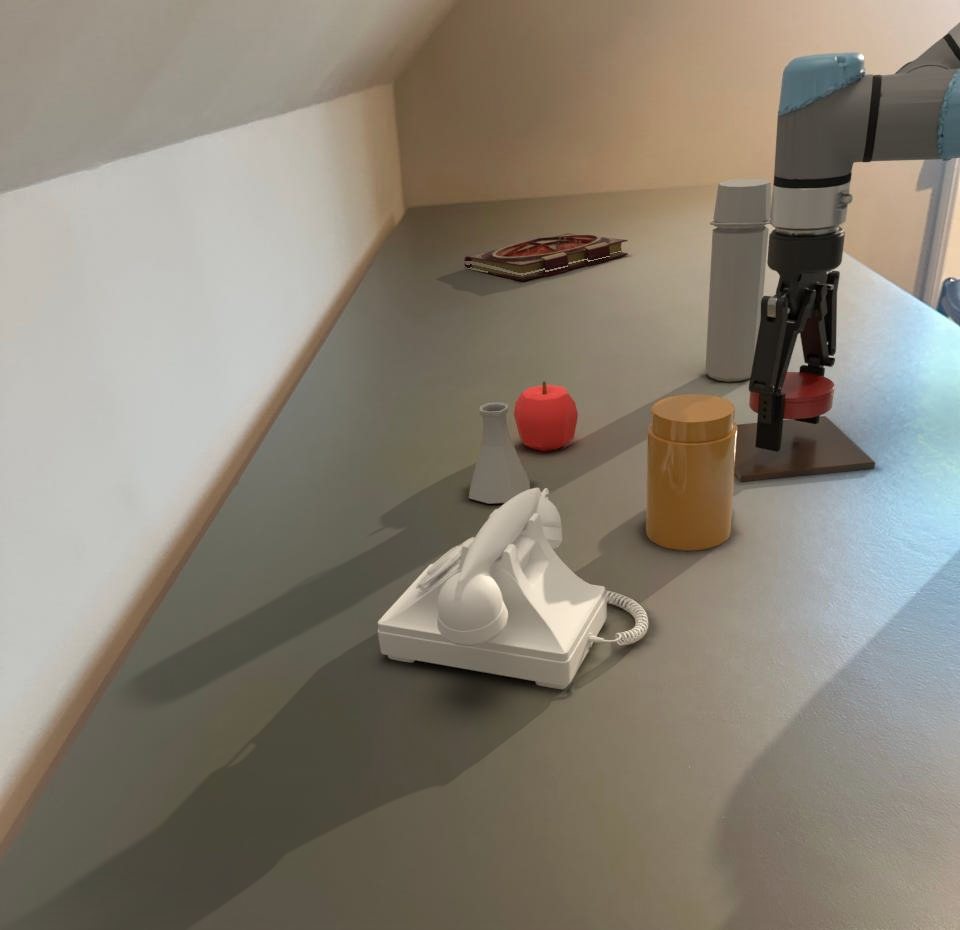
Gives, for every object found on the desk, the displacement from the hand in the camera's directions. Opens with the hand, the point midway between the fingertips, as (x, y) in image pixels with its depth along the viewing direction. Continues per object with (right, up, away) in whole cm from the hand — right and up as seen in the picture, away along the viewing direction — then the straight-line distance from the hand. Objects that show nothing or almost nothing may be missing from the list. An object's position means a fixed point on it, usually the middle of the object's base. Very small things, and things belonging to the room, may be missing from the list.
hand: (787, 434), depth 113 cm
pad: (0, -2, +1) cm, 2 cm away
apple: (-27, 0, +8) cm, 29 cm away
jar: (-15, -13, -14) cm, 24 cm away
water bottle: (0, +14, +26) cm, 29 cm away
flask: (-33, -7, -3) cm, 34 cm away
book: (-21, +57, +95) cm, 113 cm away
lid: (0, +4, -3) cm, 5 cm away
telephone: (-32, -23, -27) cm, 48 cm away
